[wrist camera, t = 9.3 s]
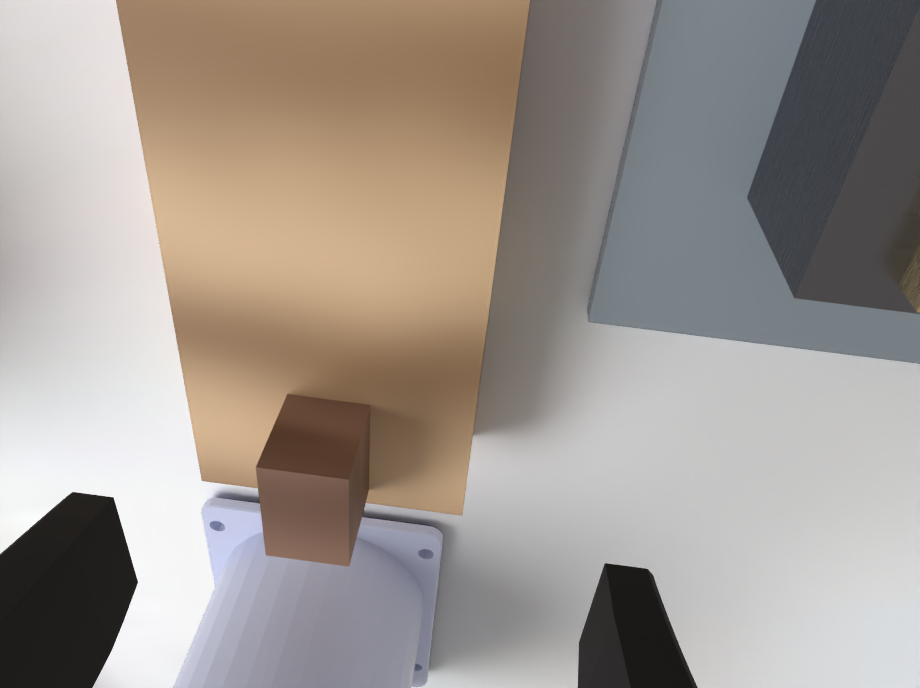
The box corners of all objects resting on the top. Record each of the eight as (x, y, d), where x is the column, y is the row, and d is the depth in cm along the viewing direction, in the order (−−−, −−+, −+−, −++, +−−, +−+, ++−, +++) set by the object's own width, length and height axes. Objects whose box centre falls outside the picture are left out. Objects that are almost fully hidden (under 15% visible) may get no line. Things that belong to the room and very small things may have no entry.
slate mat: (982, 357, 19) (994, 372, 18) (587, 308, 19) (588, 321, 19) (1371, -245, 12) (1406, -247, 11) (728, -312, 12) (735, -315, 11)
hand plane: (471, 436, 22) (452, 593, 18) (239, 406, 22) (164, 554, 18) (644, -884, 9) (731, -1492, 5) (73, -931, 9) (-350, -1562, 5)
